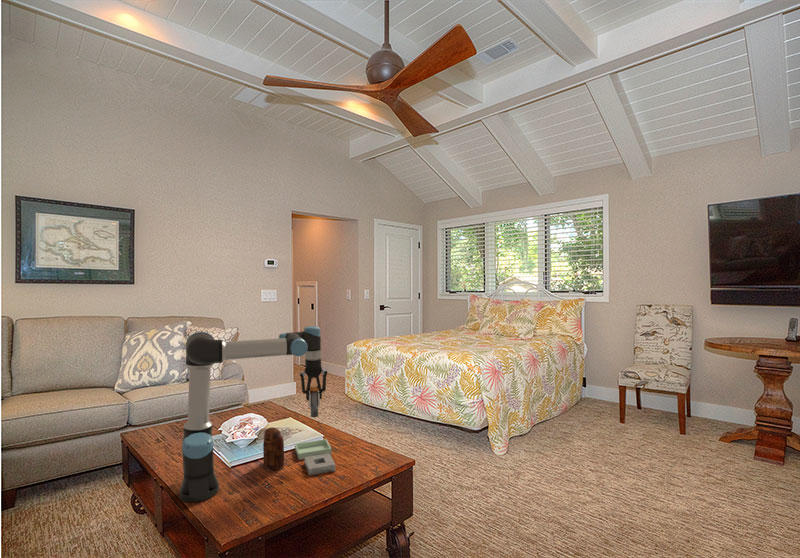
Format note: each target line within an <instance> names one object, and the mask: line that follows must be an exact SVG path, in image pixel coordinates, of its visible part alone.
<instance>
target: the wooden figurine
mask: <svg viewBox="0 0 800 558" xmlns="http://www.w3.org/2000/svg"><path fill="white" fill-rule="evenodd" d="M263 433H264V434H263V435H264V436H263V444H262V446H263V449H262V450H263V461H262V462H263V467H264V468H265V469H268V470H277V471H279V470H282V469H283V468H284V466H285V449H284V446H285V443H284V437H283V435H282V434H281V431H280V430H279V429H278V428H276V427H273V426H272V427H268V428H266V429H265V430H264V432H263Z"/></svg>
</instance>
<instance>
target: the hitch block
mask: <svg viewBox="0 0 800 558" xmlns="http://www.w3.org/2000/svg"><path fill="white" fill-rule="evenodd" d="M303 460H304V466H305V469H306V472H307V474H308V476H314V475H320V474H325V473H330V472H335V471H336V463H335V461H334V459H333V457H332V454H331V455H330V453H329V454H323V455H317V456H311V457H305V458H304V459H303Z"/></svg>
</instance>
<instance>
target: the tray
mask: <svg viewBox="0 0 800 558" xmlns="http://www.w3.org/2000/svg"><path fill="white" fill-rule="evenodd" d="M294 450H295V454H296V456H297V459H298V460H299V461H300V460H304V458H305V457H311V456H317V455H323V454H329V453H330V455H331V456H332V453H333V452H332V447H331V444H330V443H329V441H328V439H327V438H323V439H318V440H316V439H315V440H310V441H304V442H298V443H294Z"/></svg>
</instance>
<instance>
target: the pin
mask: <svg viewBox="0 0 800 558" xmlns="http://www.w3.org/2000/svg"><path fill="white" fill-rule="evenodd" d="M318 392H319V388H318V385H310V389H309V393H310V394H311V408H310V417H311V418H317V417H319V407H318Z"/></svg>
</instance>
